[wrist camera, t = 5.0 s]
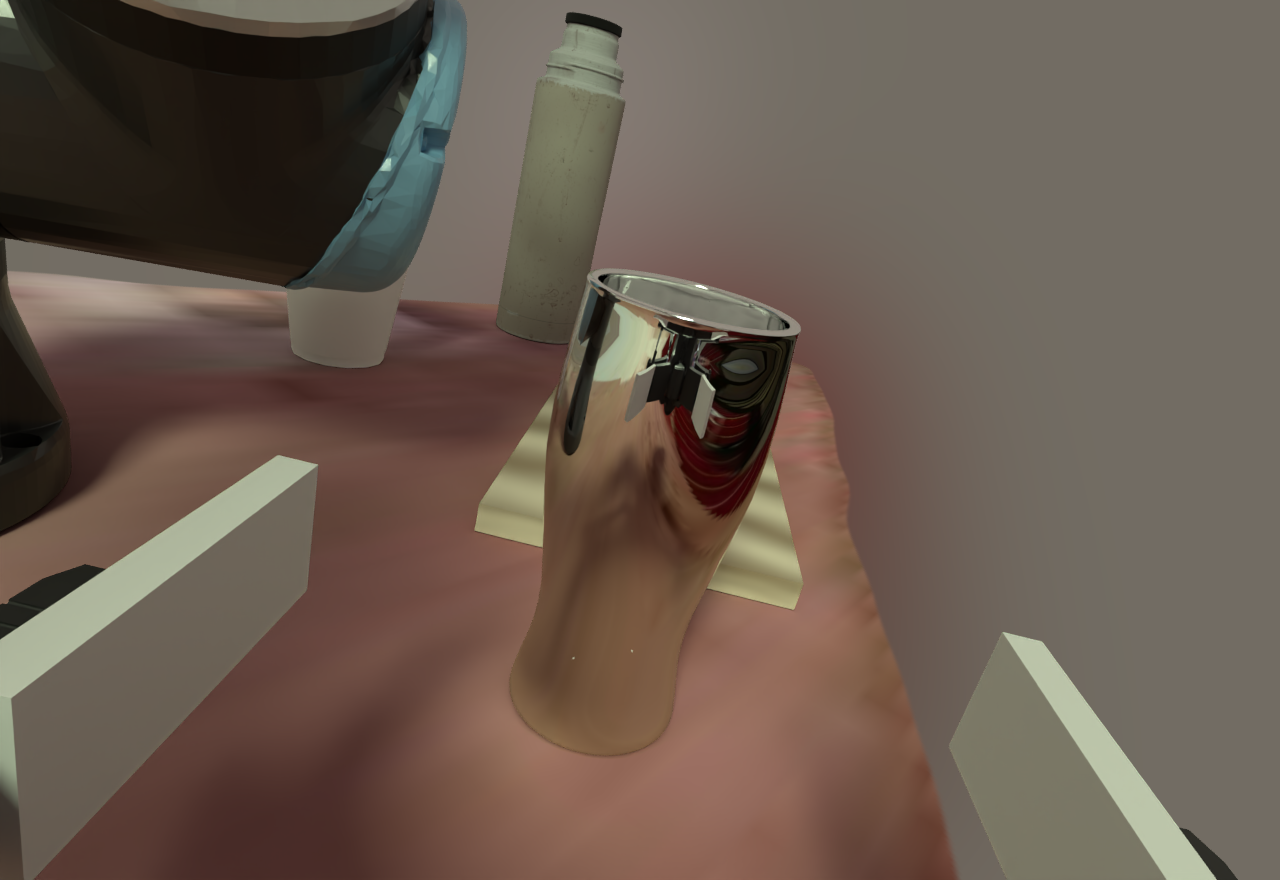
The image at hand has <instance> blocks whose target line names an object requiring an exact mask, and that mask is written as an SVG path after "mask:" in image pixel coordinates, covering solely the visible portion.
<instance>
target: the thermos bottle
mask: <svg viewBox="0 0 1280 880" xmlns="http://www.w3.org/2000/svg"><path fill="white" fill-rule="evenodd" d="M566 23H567V29H566V30H565V31H564V35H563V41H562V46H561V47H560V48H558V49H556V50H554V51H552V52H551V53H550V57H549V62H548V64H546V66H547V67H548V68H547V73H546V76H544V77H539V78H538V79H537V83H536V89H535V95H534V101H533V107H532V113H531V119H530V125H529V131H528V137H527V142H526V148H525V155H524V161H523V167H522V172H521V178H520V184H519V189H518V195H517V201H516V208H515V213H514V219H513V225H512V231H511V237H510V243H509V249H508V254H507V260H506V266H505V272H504V278H503V284H502V290H501V296H500V301H499V307H498V313H497V319H496V324H497V326H498V327H499V328H500V329H502V330H504V331H506V332H508V333H510V334H512V335H515V336H518V337H521V338H525V339H528V340H533V341H538V342H543V343H552V344H566V343H569V341H570V337H571V334H572V330H573V327H574V324H575V321H576V318H577V314H578V311H579V308H580V305H581V301H582V298H583V294H584V291H585V287H586V283H587V275H588V273H589V272H590V269H591V264H592V259H593V255H594V249H595V245H596V240H597V235H598V230H599V225H600V221H601V216H602V211H603V207H604V202H605V198H606V193H607V188H608V183H609V179H610V174H611V168H612V164H613V160H614V154H615V149H616V145H617V140H618V136H619V131H620V126H621V121H622V117H623V112H624V107H625V100H624V99H622V98H621V97H620V95H619V93H620V88H621V83H623V82H624V80H623V79H622V77H623V70H622V69H621V68H620V67H619V65H618V64H617V62H616V58H617V53H618V48H619V45H618V39H619V38H620V37H621V33H622V28H621V27H620V26H618V25H617V24H614V23H612V22H610V21H607V20H604V19H601V18H598V17H594V16H590V15H586V14H581V13H573V12H572V13H571V12H570V13H567V15H566Z"/></svg>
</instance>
